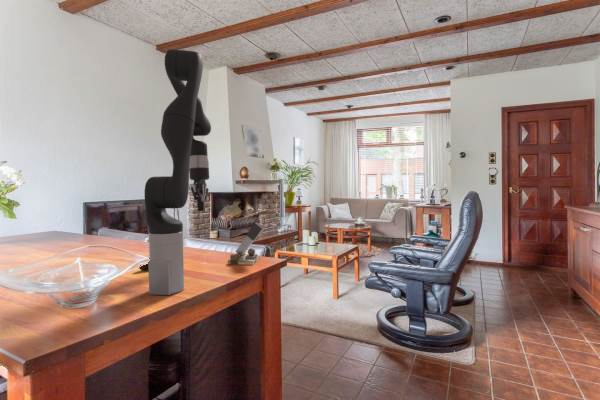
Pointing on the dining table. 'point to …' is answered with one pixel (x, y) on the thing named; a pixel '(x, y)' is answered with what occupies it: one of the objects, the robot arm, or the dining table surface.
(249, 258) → the cracker base
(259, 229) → the lever
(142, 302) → the dining table surface
